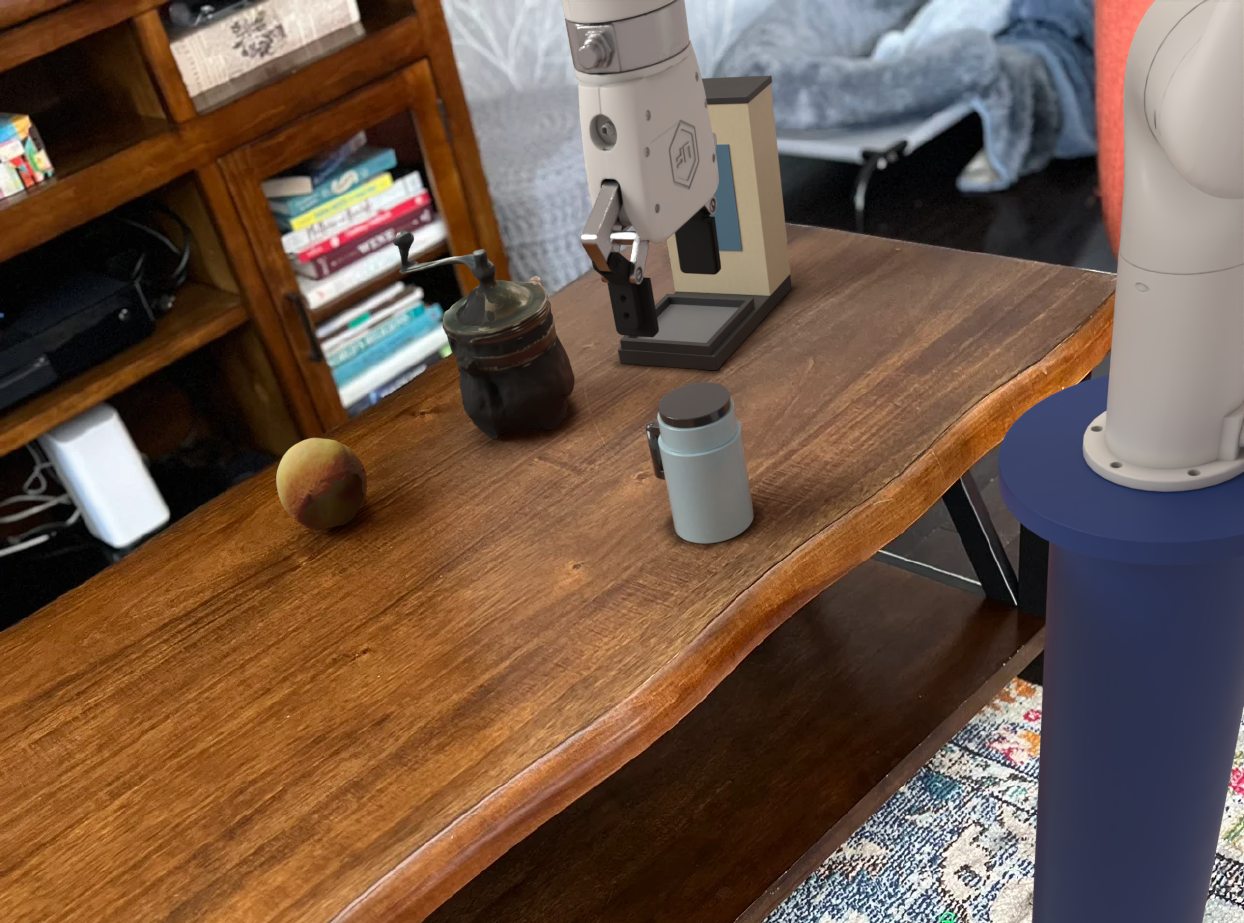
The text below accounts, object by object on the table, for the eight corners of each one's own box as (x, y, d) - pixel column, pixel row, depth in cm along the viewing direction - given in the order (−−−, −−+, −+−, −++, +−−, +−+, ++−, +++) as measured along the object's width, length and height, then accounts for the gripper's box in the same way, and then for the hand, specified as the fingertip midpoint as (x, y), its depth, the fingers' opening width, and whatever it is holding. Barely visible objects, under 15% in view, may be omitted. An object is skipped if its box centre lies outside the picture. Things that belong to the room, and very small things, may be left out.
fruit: (395, 502, 119) (366, 423, 113) (342, 553, 114) (309, 474, 108) (333, 493, 122) (302, 416, 116) (279, 543, 118) (244, 465, 112)
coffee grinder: (470, 389, 132) (417, 209, 119) (602, 389, 126) (560, 200, 114) (415, 456, 124) (351, 271, 111) (552, 459, 118) (502, 264, 106)
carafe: (732, 548, 103) (712, 426, 95) (644, 535, 107) (619, 417, 99) (767, 503, 106) (751, 381, 99) (681, 492, 110) (659, 374, 103)
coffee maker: (718, 371, 124) (684, 151, 110) (619, 363, 129) (575, 152, 115) (793, 287, 134) (771, 75, 120) (698, 283, 139) (667, 79, 125)
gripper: (612, 86, 75) (659, 364, 87) (741, -11, 84) (768, 252, 96) (507, 89, 78) (566, 356, 90) (642, -4, 88) (680, 248, 100)
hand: (670, 302), depth 93 cm, fingers open, 9 cm apart
